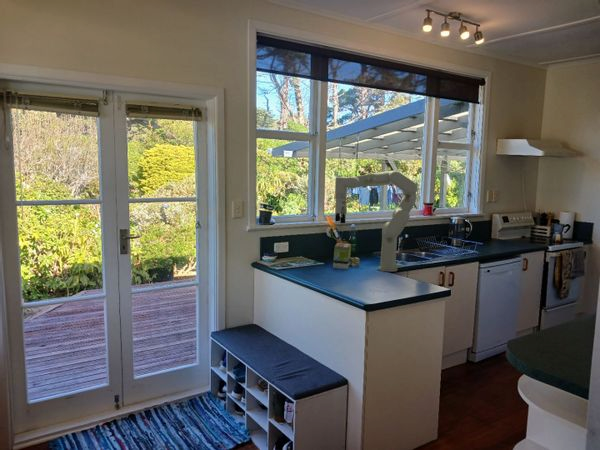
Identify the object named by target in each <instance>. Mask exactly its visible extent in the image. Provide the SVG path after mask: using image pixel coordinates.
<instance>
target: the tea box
mask: <svg viewBox="0 0 600 450" xmlns="http://www.w3.org/2000/svg"><path fill="white" fill-rule="evenodd" d="M351 252H352V244H351V243H344V242H341V243H340V242H337V243H336V244H335V245H334V249H333V260H332V261H333V262H332V263H333V264H332V268H333V269H341V270H348V269H349V267H350V266H351V265H350V258H351Z"/></svg>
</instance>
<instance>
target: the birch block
mask: <svg viewBox="0 0 600 450" xmlns="http://www.w3.org/2000/svg"><path fill="white" fill-rule="evenodd" d="M349 266H350V267H351V266H352V267H360V258H359V257H354V256H353V257H350V265H349Z"/></svg>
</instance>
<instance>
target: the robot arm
mask: <svg viewBox="0 0 600 450" xmlns="http://www.w3.org/2000/svg"><path fill="white" fill-rule="evenodd" d="M388 185H389V186H390V185H394V186H395V187H396V188H397V189H400V190H401V191H402V199H401V200H400V201H399V203H398V204H397V207H395V209H393V212H392V213H391V214H392V215H391V216H392V218H391V220H390V221H387V222H385V223H384V224H383V225H382V227H381V229H382V230H381V250H380V251H381V252H380V253H381V254H380V264H379V265H380V266H377V269H378V271H381V272H387V273H389V272H390V273H391V272H397V271H398V268H402V267H403V264H399V263H396V260H397V257H396V256H397V245H398V237H399V236H400V235H401V233H402V232H403V230H404V228H405V227H406V225H407V224H408V222H409V221H410V212H411V211H412V209H413V208H414V205H415V204H416V201H417V191H418V185H417V183H415V182H414V181H413V180H411V179H410V178H409V177H408V176H406V175H404V174H403V173H402V172H401V171H399V170H388V171H387V170H386V171H381V172H380V171H379V172H374V173H372V172H371V173H369V174H362V175H356V176H355V175H354V176H348V177H346V176H337V177H336V178H335V186H334V187H335V188H334V189H335V190H334V191H335V192H334V198H335V205H334V215H335V217H334V218H335V219H334V222H340V224H346V215H347V213H348V209H347V208H348V204H347V199H348V197H347V196H348V189H357V188H362V187H380V186H381V187H382V186H388Z"/></svg>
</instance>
